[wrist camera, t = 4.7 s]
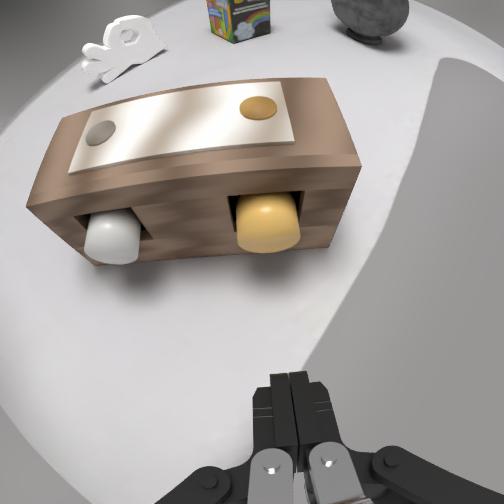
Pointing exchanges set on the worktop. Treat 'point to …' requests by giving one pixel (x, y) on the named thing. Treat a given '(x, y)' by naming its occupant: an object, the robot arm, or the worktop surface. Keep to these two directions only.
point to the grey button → (113, 236)
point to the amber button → (267, 222)
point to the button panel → (199, 164)
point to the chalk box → (239, 18)
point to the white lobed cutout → (122, 48)
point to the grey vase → (371, 17)
